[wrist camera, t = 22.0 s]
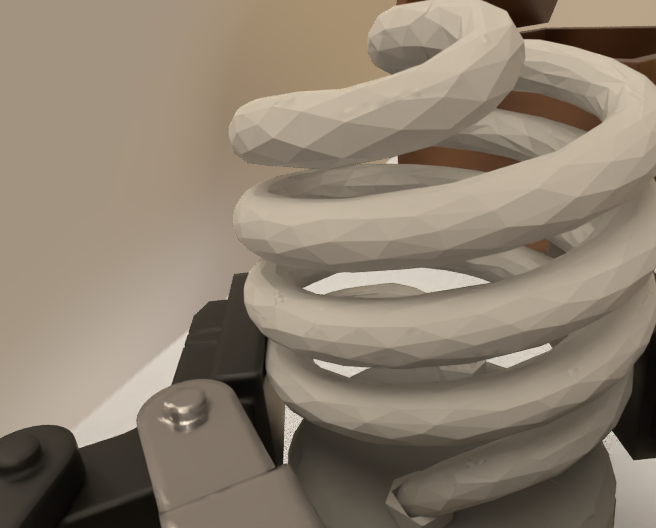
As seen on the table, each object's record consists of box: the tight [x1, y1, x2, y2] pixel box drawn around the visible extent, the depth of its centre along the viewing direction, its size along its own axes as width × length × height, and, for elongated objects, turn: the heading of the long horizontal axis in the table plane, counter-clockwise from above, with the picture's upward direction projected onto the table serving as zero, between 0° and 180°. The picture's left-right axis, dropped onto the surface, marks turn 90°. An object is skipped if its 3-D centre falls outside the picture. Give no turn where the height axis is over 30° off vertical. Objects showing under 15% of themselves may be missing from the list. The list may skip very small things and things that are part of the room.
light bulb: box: [228, 0, 656, 528], centre depth 10 cm, size 6×6×12 cm
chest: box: [398, 26, 656, 253], centre depth 32 cm, size 15×13×9 cm
